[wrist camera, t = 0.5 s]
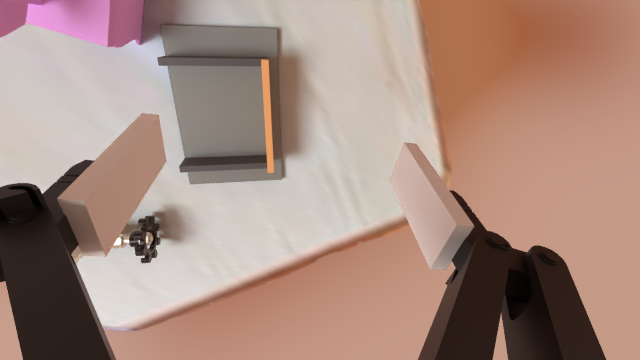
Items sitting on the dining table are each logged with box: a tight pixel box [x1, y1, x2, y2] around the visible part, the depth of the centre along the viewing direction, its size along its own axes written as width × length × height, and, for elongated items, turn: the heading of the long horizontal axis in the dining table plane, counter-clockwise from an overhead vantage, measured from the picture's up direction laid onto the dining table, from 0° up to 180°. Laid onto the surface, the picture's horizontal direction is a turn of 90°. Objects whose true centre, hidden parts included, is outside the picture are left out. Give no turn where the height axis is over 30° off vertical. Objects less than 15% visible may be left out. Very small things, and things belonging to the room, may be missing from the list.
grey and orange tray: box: [157, 25, 282, 184], centre depth 37 cm, size 20×13×5 cm, turn 179°
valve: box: [71, 216, 160, 263], centre depth 41 cm, size 7×7×12 cm
